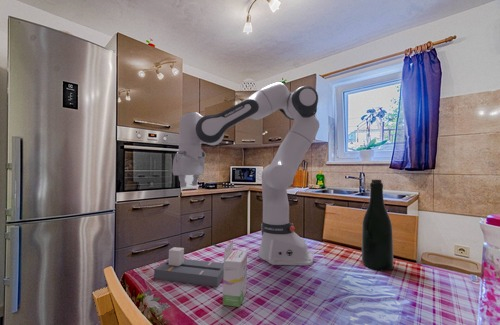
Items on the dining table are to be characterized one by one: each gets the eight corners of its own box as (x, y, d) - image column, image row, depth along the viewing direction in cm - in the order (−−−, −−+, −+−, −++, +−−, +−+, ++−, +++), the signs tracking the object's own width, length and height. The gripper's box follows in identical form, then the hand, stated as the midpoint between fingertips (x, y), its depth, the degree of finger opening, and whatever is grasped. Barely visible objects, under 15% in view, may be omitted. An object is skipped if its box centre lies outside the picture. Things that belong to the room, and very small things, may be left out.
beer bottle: (384, 260, 89) (383, 179, 90) (399, 272, 78) (398, 180, 80) (357, 259, 90) (357, 178, 91) (368, 270, 79) (368, 179, 81)
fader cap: (183, 266, 77) (184, 248, 77) (179, 270, 74) (179, 251, 74) (173, 265, 78) (173, 247, 78) (168, 269, 75) (168, 250, 75)
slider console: (227, 272, 77) (227, 263, 77) (217, 287, 67) (217, 276, 67) (171, 265, 82) (171, 257, 82) (154, 278, 72) (154, 269, 72)
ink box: (240, 308, 57) (241, 250, 58) (222, 305, 58) (223, 249, 59) (247, 290, 66) (248, 240, 66) (231, 288, 67) (232, 239, 67)
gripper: (184, 150, 79) (183, 188, 78) (207, 154, 99) (206, 185, 98) (168, 150, 80) (167, 188, 79) (194, 154, 100) (193, 184, 99)
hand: (189, 186), depth 89 cm, fingers open, 8 cm apart
